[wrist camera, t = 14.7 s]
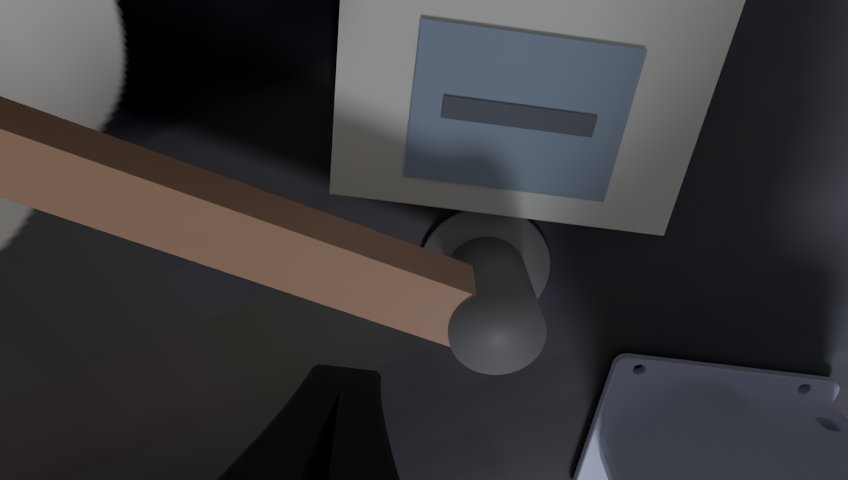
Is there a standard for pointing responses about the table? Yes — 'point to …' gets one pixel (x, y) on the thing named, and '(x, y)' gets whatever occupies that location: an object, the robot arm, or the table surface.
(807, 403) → the robot arm
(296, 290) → the swing bar
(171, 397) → the table surface
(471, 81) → the label panel
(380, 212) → the table surface
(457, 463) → the table surface
